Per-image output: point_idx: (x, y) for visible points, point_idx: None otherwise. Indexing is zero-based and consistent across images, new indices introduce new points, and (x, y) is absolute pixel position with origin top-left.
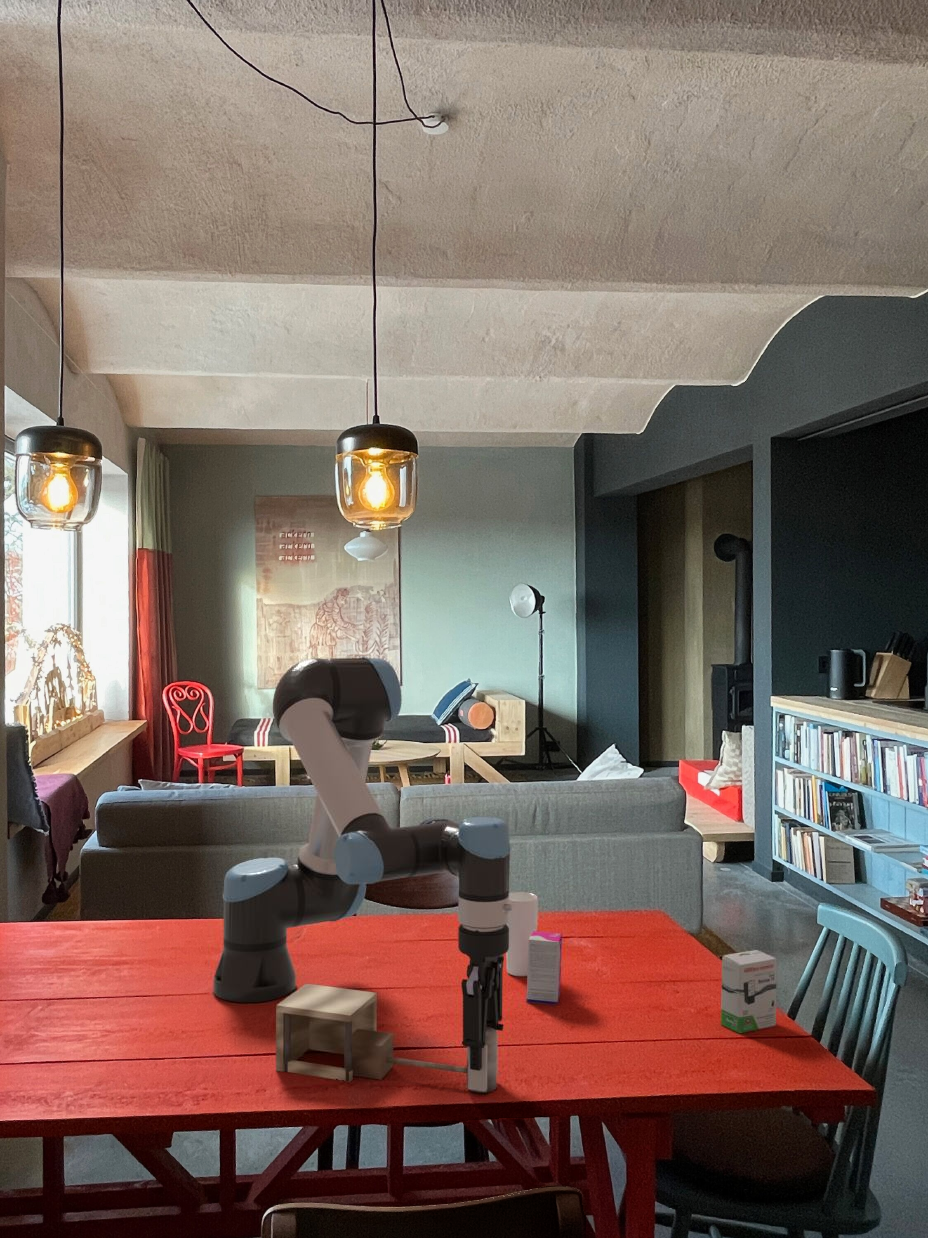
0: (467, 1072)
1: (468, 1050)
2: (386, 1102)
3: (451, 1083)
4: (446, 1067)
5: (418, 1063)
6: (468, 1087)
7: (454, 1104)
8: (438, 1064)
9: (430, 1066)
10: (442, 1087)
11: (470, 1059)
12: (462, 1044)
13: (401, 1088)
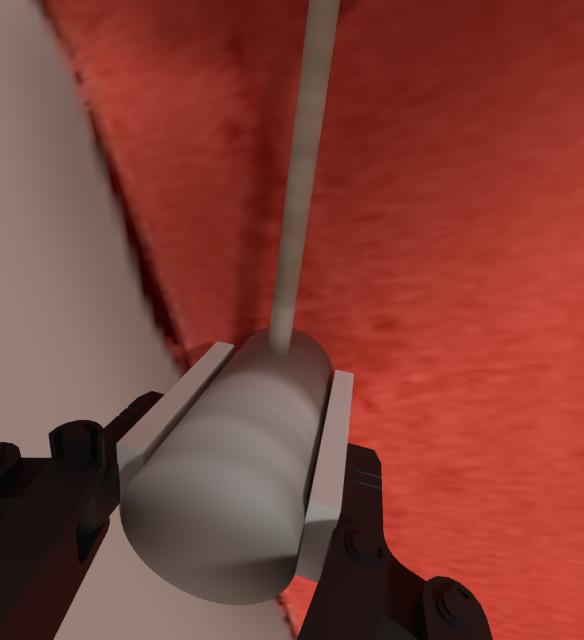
0: (243, 354)
1: (135, 425)
2: (92, 35)
3: (302, 268)
4: (278, 263)
5: (296, 107)
6: (215, 345)
7: (159, 297)
8: (288, 223)
9: (287, 181)
10: (264, 239)
11: (117, 417)
12: (66, 425)
13: (219, 63)
